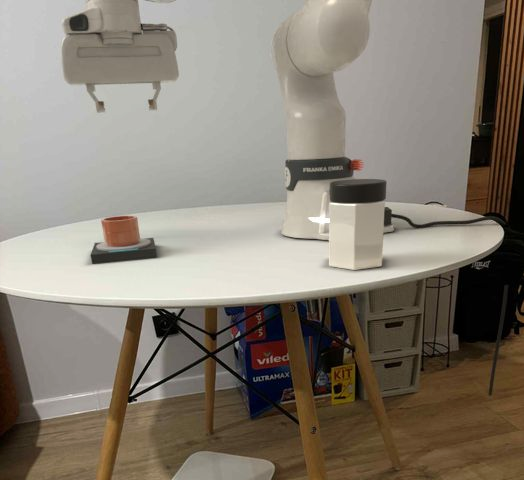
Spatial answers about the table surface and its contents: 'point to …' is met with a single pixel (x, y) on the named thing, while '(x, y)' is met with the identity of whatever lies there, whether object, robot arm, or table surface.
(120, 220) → the cup
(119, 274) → the table surface
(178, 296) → the table surface
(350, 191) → the jar
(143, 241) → the scale
